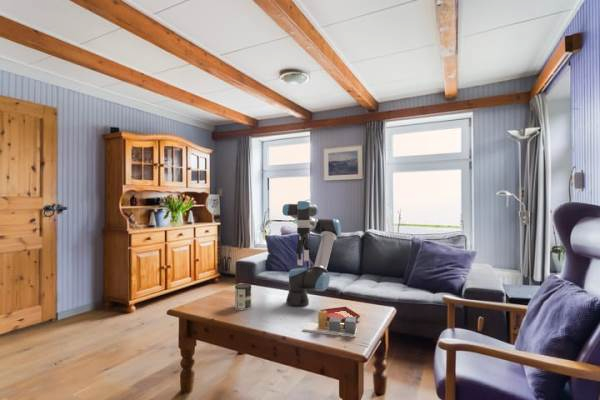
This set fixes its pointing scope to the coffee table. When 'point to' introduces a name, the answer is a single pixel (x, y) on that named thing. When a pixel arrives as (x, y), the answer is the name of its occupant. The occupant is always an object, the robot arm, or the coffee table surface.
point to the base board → (325, 330)
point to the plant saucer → (335, 315)
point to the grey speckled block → (335, 324)
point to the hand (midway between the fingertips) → (303, 262)
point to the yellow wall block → (324, 323)
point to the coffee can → (242, 296)
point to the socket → (350, 325)
